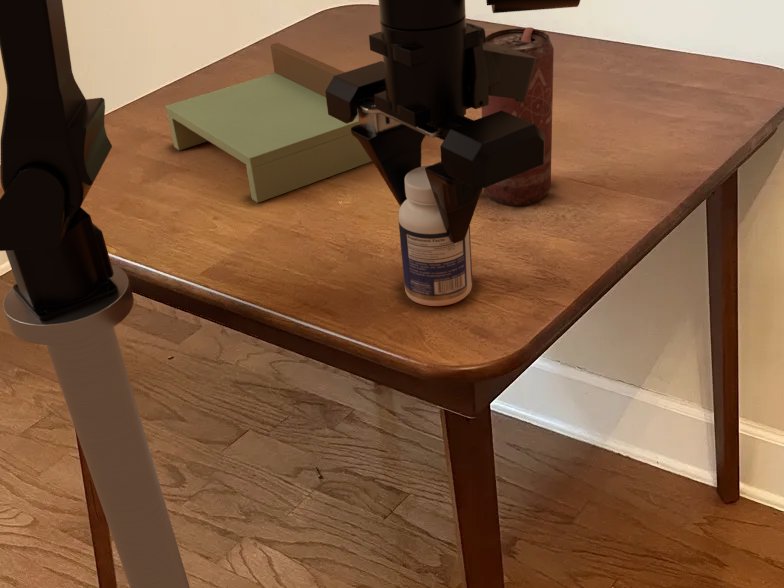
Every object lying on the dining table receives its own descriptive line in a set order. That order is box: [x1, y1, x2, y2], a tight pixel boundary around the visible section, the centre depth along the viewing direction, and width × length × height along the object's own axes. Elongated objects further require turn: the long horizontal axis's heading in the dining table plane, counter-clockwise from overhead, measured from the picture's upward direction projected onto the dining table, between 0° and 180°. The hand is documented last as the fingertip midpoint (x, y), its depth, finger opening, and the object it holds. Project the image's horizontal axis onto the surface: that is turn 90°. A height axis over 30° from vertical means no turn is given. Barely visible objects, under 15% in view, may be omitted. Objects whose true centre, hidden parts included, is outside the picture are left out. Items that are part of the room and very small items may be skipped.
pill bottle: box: [397, 164, 473, 307], centre depth 78 cm, size 5×5×10 cm
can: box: [481, 26, 555, 207], centre depth 90 cm, size 6×6×14 cm
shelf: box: [165, 42, 373, 204], centre depth 103 cm, size 14×18×8 cm
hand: (435, 227), depth 78 cm, fingers closed on pill bottle, 5 cm apart
